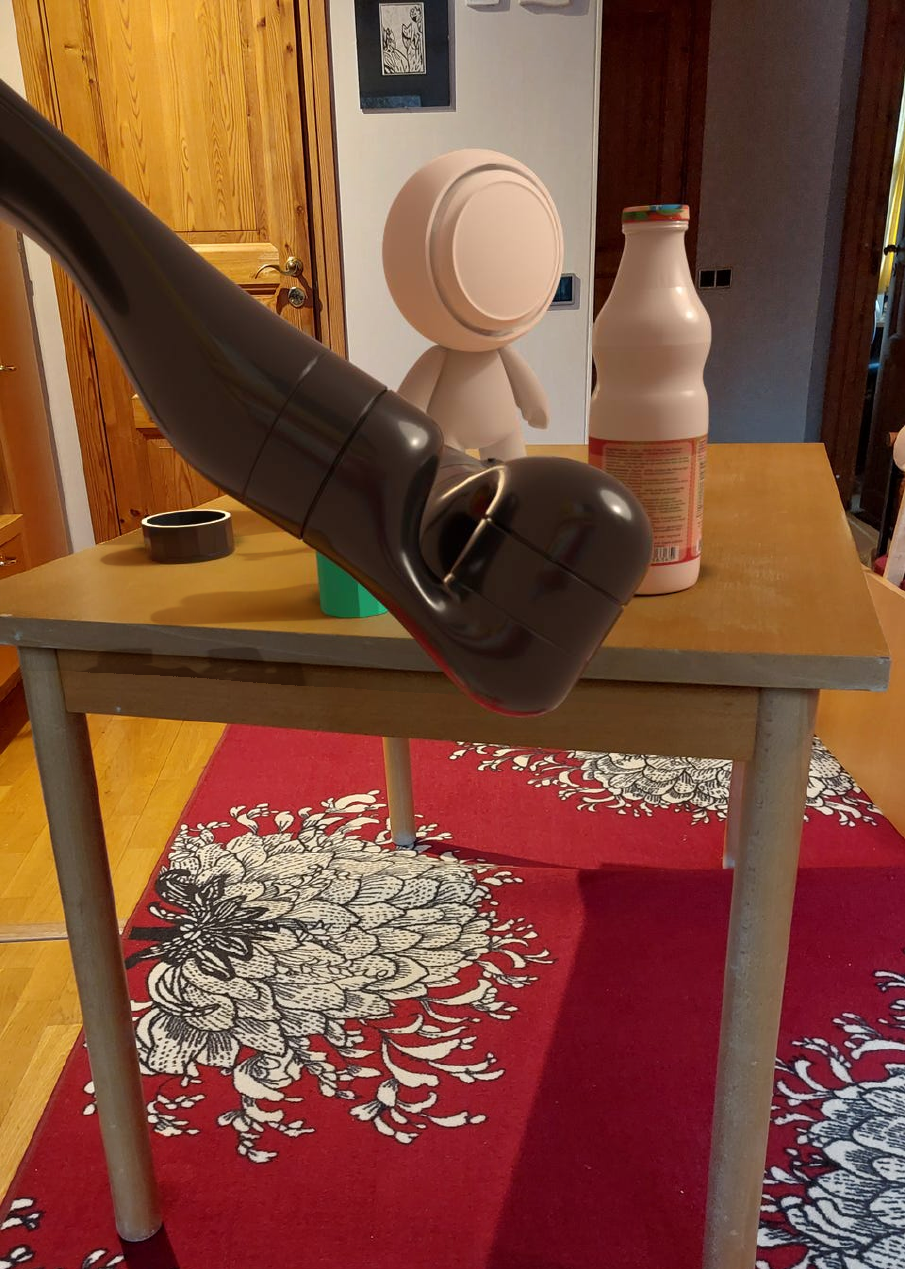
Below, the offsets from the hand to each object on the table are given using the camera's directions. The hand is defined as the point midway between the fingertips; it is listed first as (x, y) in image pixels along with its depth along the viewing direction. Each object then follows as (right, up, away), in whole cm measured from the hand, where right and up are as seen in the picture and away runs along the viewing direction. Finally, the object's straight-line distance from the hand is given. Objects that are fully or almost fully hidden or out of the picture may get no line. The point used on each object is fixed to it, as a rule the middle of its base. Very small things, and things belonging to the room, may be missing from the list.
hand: (377, 477), depth 74 cm
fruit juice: (+21, -4, +19) cm, 28 cm away
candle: (-3, -6, +15) cm, 16 cm away
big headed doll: (+7, +10, +49) cm, 51 cm away
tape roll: (-21, +3, +36) cm, 41 cm away
